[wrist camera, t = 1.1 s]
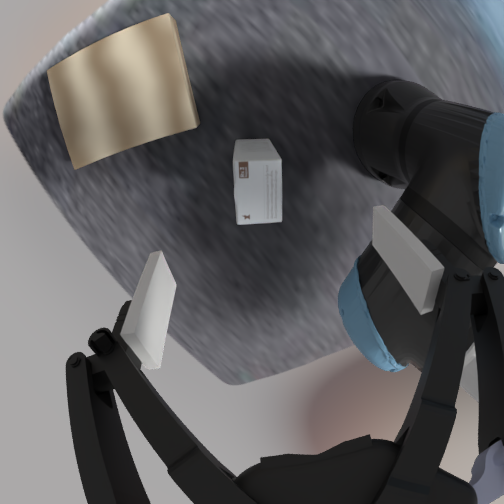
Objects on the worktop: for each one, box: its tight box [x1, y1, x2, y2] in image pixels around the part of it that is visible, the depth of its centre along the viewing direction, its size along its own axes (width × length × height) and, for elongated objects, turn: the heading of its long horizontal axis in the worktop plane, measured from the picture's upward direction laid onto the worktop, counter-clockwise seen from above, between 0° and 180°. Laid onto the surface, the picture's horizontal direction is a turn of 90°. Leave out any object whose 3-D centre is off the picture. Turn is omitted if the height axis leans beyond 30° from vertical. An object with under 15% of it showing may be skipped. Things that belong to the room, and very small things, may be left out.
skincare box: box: [233, 139, 282, 225], centre depth 29 cm, size 6×4×12 cm
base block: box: [47, 13, 200, 170], centre depth 26 cm, size 16×14×4 cm
